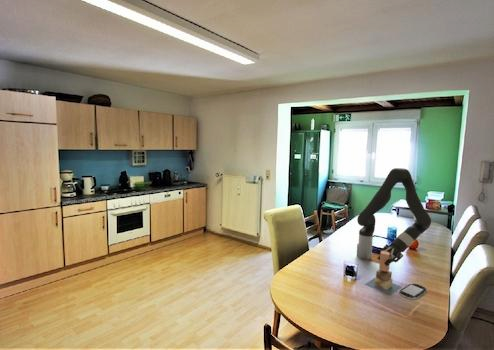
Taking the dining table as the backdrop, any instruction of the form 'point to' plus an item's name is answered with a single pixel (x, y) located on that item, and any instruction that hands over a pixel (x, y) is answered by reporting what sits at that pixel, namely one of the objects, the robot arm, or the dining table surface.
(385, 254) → the terracotta pillar
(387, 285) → the tower base
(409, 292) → the gaming console
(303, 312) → the dining table surface
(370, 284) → the slate mat
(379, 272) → the tower top
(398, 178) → the robot arm
